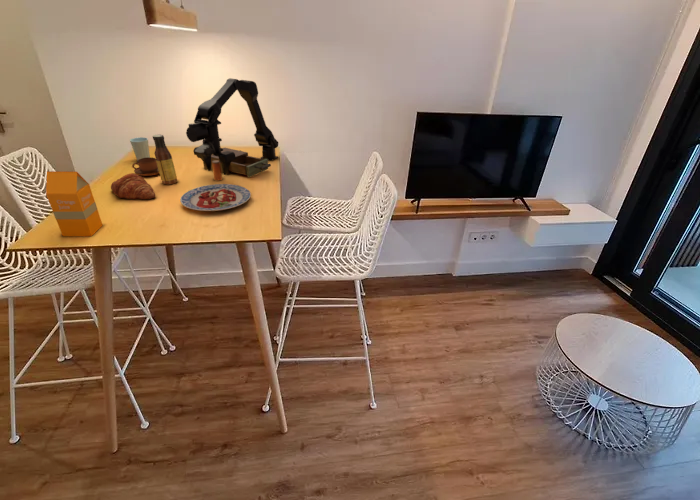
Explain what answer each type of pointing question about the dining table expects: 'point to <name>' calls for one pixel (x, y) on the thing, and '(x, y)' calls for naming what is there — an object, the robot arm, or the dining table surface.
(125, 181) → the pastry
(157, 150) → the sauce bottle
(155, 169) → the cup and saucer
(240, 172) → the drawer
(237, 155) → the cabinet
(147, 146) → the cup
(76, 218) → the orange juice
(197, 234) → the dining table surface
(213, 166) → the spice jar
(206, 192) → the ceramic plate
